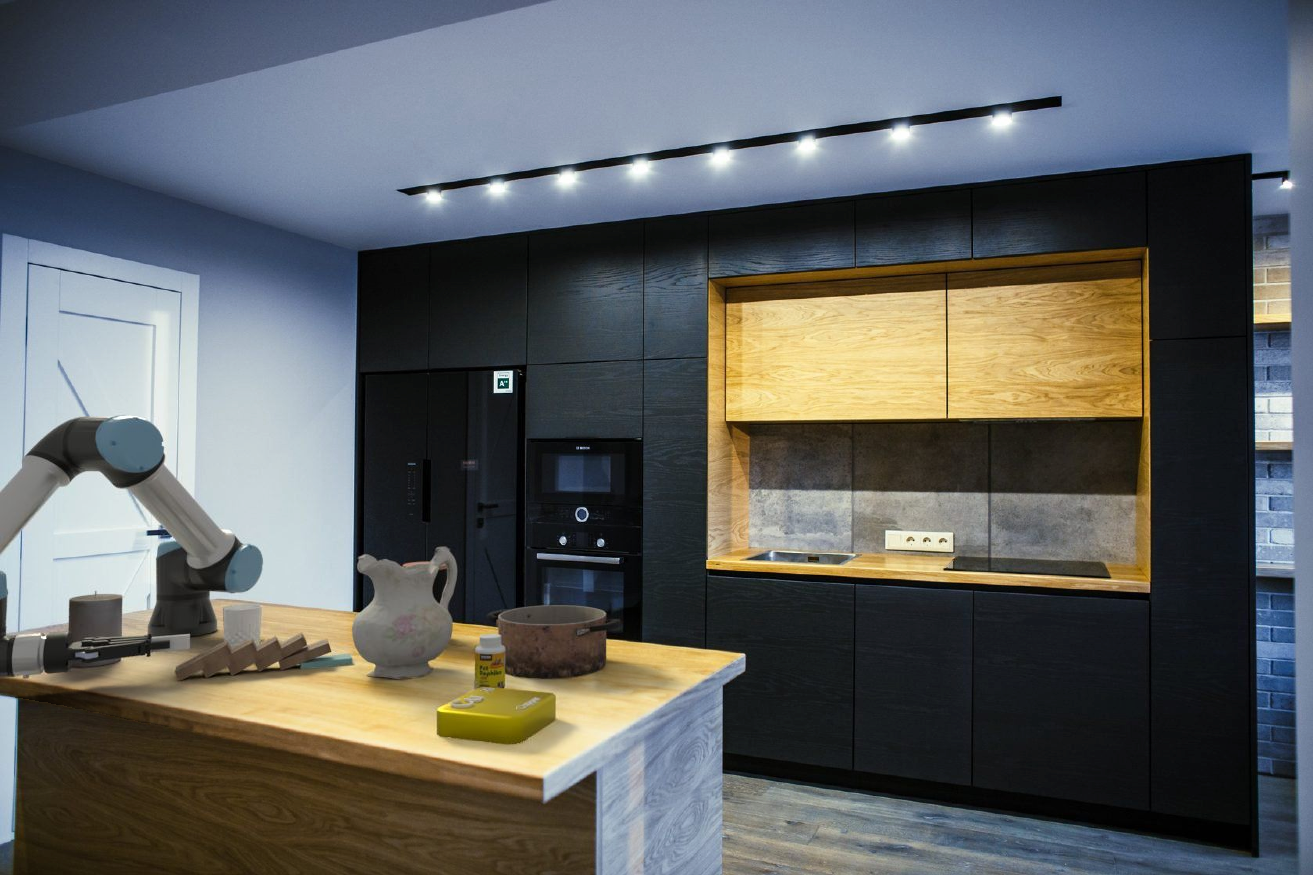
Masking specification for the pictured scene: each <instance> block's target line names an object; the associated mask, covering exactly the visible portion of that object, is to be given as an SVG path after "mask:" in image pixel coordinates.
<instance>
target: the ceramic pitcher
mask: <svg viewBox="0 0 1313 875" xmlns="http://www.w3.org/2000/svg"><path fill="white" fill-rule="evenodd" d="M434 550H435V551H434V556H433V557H432V559H431V560H430V561H429V562H430V563H429V564H415V565H412V566H407V567H405V568H404V567H403V565H402V566H401V565H400V564H399V563H398V562H396V561H393V560H389V559H387V558H384V559H379V560H377V558H375V557H374V556H372V555H370V554H365V553H364V554H362V555H360V556H358V557H357V559H358V562H357V571H358V572H359V573H360V574H363V575H366V576H368V577H369V578H370V579H371V581H372V584H373V589H374V597H373V599H372V601H371V602H370V603H369V604H368V605H367V606H365V607H364V608H363V610H362V611H360V612H359V613H357V614H356V615H355V617H354V619H353V622H352V626H351V633H352V635H351V636H352V640H353V643H354V647H355V649H356V651H357V652H358V654H359V656H360V657H361V658H362V659H364V661H366V662H368V663H371V664H374V665H375V666H374V669H373V671H371V672H369V673H367V674H366V676H367V677H379V678H383V677H384V678H389V679H395V680H404V679H405V680H406V679H410V678H423V677H424V676H426V675H428V674H431V672H433V670H434V668H433V667H431V665H430V664H429V662H431V661H433V660H434V661H435V659H437V658H438V657H439V656H440V655H442V653H443V652H444V651H445V650H446V648H447V647H448V645H449V643H450V641H451V638H452V635H453V628H454V627H453V626H454V625H453V618H452V614H451V613H450V611H449V612H448V603H449V604H450V600H451V599H452V597H453V595H454V590H455V587H456V583H457V578H458V577H457V576H458V565H457V561H456V559H455V556H454V555H453V553H452V552H451V548H448V547H447V545H445V546H444V545H442V546H439V547H436V548H435V549H434ZM443 564H445V565H446V567H447V583H446V585H445V588H444V590H443V594H442V598H441V602H440V604H439V603H437V601H436V600H435V599H434V597H433V593H432V587H433V583H434V579H435V577H436V575H437V573H438V569H439V567H440V566H441V565H443Z"/></svg>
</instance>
